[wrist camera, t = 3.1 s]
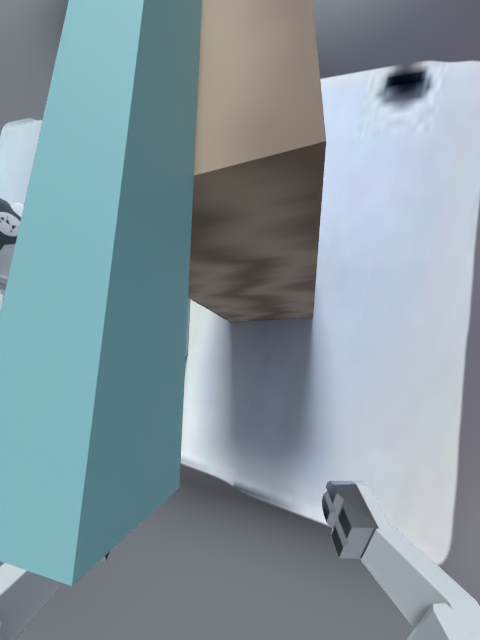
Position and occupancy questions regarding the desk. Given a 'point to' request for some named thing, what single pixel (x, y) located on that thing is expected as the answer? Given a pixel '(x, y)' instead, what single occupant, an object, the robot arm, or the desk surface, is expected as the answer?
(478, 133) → the desk surface
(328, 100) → the desk surface
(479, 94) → the desk surface
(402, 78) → the desk surface
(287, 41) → the walnut pedestal
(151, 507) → the teal bar
